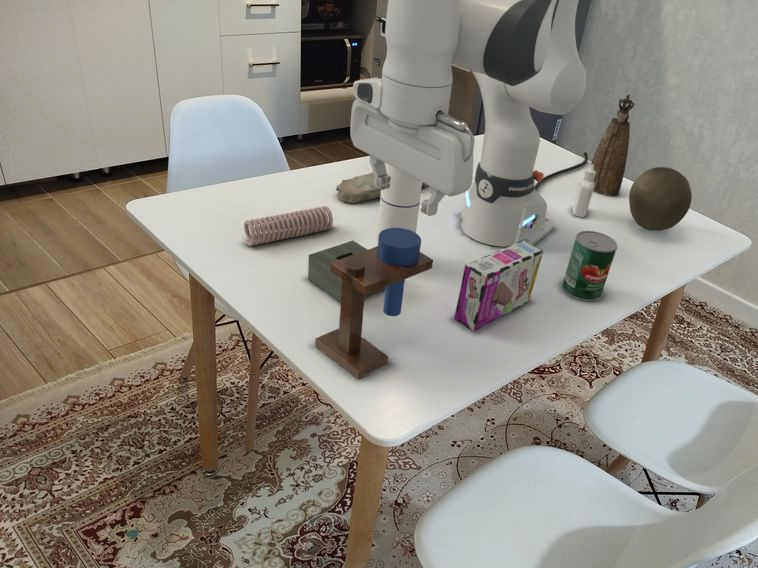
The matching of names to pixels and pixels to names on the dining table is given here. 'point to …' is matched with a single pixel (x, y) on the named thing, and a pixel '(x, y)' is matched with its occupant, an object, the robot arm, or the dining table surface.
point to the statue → (613, 152)
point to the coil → (288, 225)
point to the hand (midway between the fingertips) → (404, 200)
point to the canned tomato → (589, 265)
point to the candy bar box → (497, 284)
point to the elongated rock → (359, 189)
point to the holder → (321, 267)
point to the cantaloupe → (659, 198)
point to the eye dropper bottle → (584, 193)
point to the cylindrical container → (399, 202)
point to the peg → (397, 262)
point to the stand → (357, 281)
